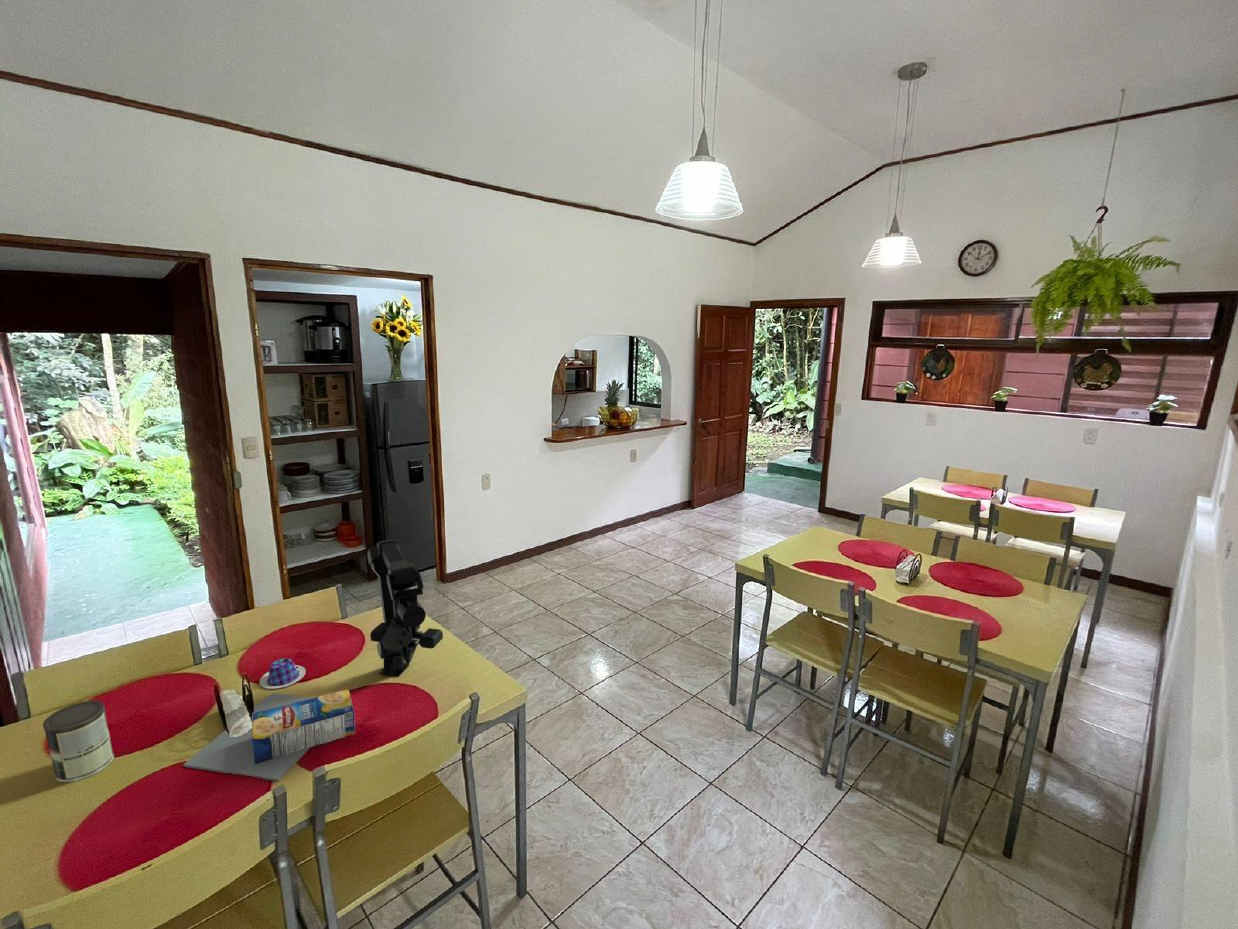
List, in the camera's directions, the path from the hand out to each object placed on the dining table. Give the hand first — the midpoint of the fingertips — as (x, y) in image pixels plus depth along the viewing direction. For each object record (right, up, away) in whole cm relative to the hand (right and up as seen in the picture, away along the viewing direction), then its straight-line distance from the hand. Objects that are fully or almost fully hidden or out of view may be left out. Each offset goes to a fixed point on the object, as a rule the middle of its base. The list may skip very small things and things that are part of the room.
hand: (408, 663), depth 155 cm
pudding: (-43, -10, +13) cm, 46 cm away
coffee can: (-68, -17, -22) cm, 74 cm away
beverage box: (-13, -11, -6) cm, 18 cm away
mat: (-31, -15, -10) cm, 36 cm away
